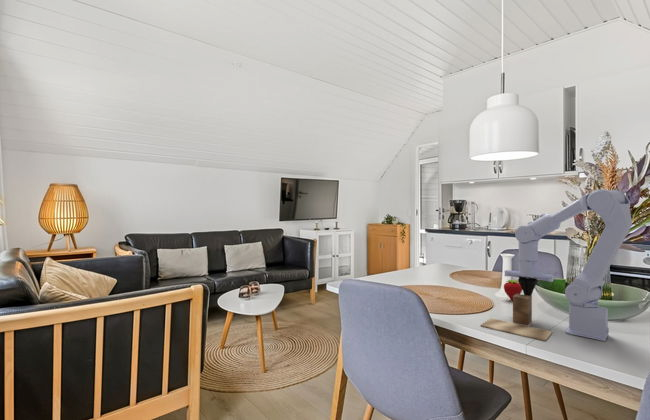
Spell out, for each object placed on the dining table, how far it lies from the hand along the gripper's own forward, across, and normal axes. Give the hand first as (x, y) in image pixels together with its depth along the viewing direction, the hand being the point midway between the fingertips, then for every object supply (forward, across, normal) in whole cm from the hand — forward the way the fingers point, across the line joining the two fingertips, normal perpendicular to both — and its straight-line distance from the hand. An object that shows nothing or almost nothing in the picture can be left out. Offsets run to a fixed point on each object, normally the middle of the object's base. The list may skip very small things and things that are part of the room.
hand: (528, 299), depth 118 cm
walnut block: (+6, 0, +7) cm, 10 cm away
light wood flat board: (+6, 0, +15) cm, 16 cm away
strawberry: (+7, +10, -20) cm, 23 cm away
